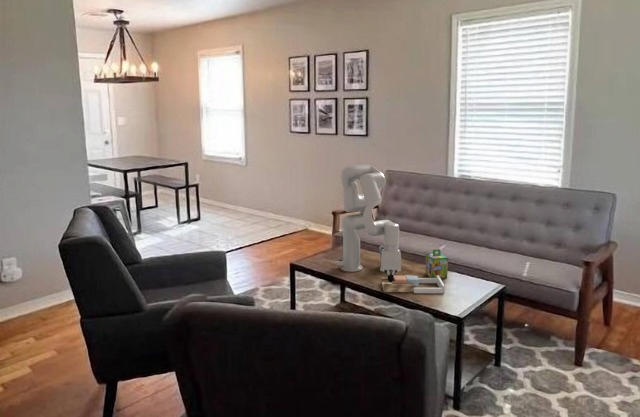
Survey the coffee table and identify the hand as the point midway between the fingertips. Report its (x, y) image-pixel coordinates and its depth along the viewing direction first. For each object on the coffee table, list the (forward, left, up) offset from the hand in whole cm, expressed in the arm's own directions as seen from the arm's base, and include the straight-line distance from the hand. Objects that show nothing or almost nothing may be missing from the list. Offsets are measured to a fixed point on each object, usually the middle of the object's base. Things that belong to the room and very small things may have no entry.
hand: (390, 281), depth 259 cm
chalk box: (+27, +18, -4) cm, 33 cm away
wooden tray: (+4, 0, -3) cm, 5 cm away
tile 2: (+11, 0, -1) cm, 11 cm away
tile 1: (+5, 0, -1) cm, 5 cm away
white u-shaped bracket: (+19, 0, -3) cm, 19 cm away
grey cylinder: (+2, +32, -4) cm, 32 cm away
